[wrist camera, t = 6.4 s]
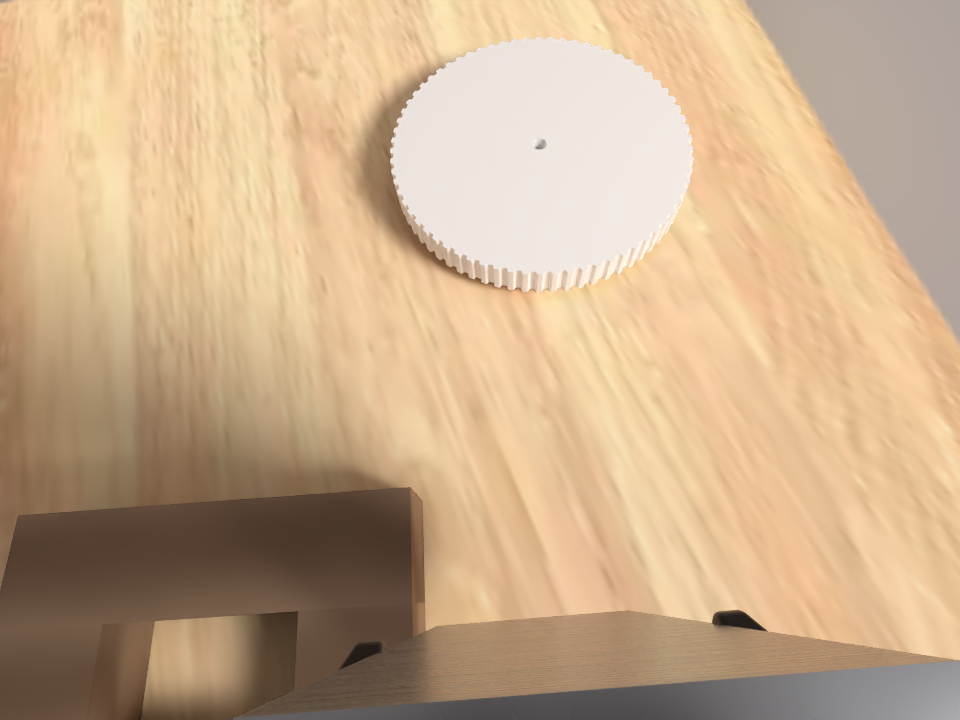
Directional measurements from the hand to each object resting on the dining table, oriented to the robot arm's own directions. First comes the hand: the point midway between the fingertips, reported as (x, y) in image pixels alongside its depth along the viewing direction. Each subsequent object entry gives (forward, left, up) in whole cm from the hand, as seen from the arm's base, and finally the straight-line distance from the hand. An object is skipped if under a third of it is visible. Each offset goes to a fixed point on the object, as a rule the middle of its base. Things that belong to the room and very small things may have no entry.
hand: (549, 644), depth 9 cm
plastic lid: (+15, +14, -14) cm, 24 cm away
